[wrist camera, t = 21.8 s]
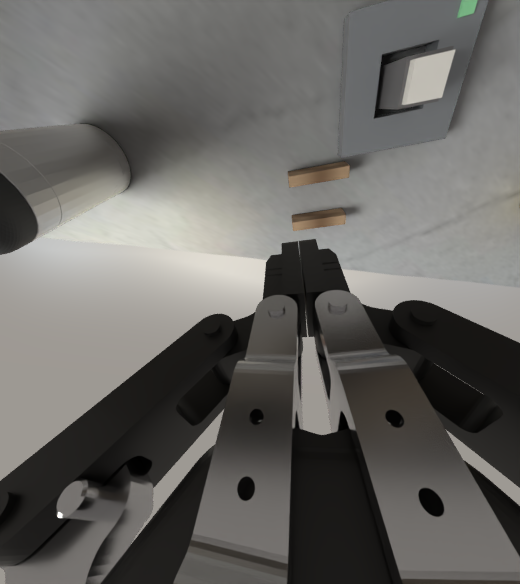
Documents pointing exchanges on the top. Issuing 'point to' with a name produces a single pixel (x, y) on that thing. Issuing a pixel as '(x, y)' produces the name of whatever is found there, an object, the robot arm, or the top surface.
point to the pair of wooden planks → (316, 176)
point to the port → (391, 39)
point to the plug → (414, 79)
